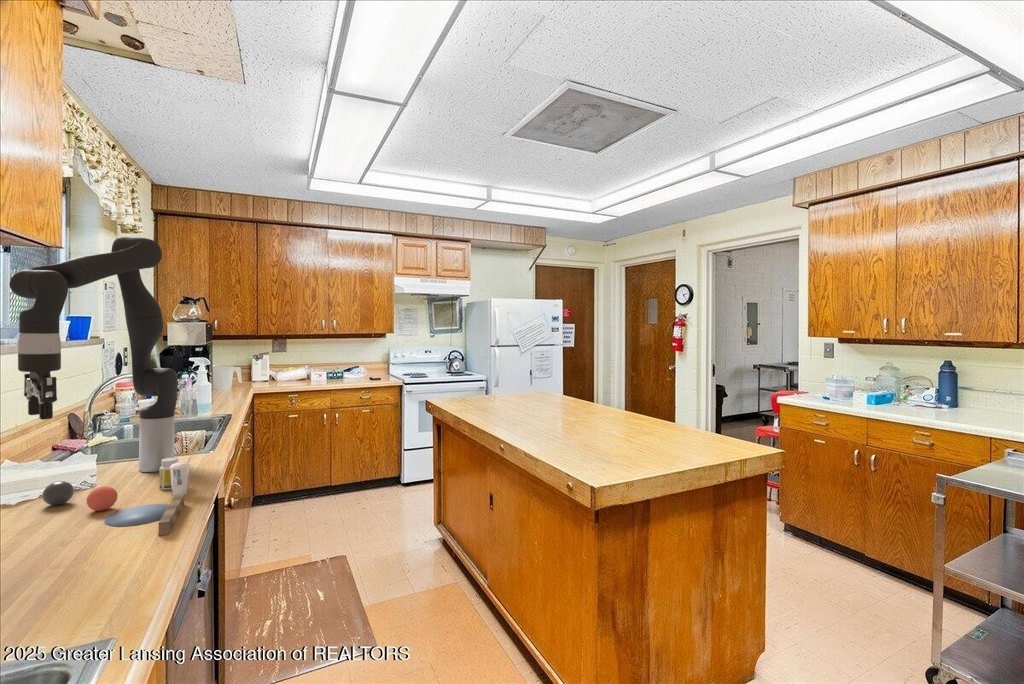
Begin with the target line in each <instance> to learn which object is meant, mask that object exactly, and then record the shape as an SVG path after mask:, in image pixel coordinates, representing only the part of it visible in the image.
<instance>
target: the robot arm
mask: <svg viewBox="0 0 1024 684" xmlns="http://www.w3.org/2000/svg"><path fill="white" fill-rule="evenodd" d="M110 250H111V251H110V252H106V253H97V254H96V253H95V254H88V255H82V256H79V257H75V258H70V259H67V260H65V261H62V262H58V263H54V264H47V265H41V266H40V265H39V266H35V267H30V268H29V267H28V268H25V269H21V270H20V271H19V270H18V271H17V272H15V273H14V274H13V275H12V276H11V277H10V280H9V284H8V285H9V288H10V291H12V293H14V294H15V295H17V296H18V297H20V298H24V299H31V300H35V301H34V303H33V306H32V307H30V308H26V309H25V308H24V309H23V310H21V311H20V313H19V317H18V318H19V319H18V320H19V322H18V323H19V324H18V332H19V335H18V341H17V370H18V371H19V372H22V373H24V375H23V378H24V385H23V386H24V387H23V388H24V389H23V391H24V392H23V396H24V398H26V400H27V414H28V415H29V416H39V420H52V418H53V416H54V414H53V413H54V409H53V407H54V406H53V404H55V402H57V401H58V398H57V395H58V394H57V393H58V392H57V391H58V390H57V377H56V376H52V375H51V372H56V371H59V370H61V369H62V343H61V337H60V336H61V335H60V317H61V314H62V312H63V308H64V306H65V302H66V300H67V297H68V295H69V294H68V293H69V289H76V288H80V287H83V286H86V285H89V284H92V283H94V282H97V281H100V280H102V279H106V278H110V277H112V276H115V275H117V279H118V283H119V287H120V292H121V296H122V302H123V307H124V317H125V318H124V319H125V324H126V329H127V334H128V338H129V339H128V340H129V345H130V353H131V354H130V355H131V369H132V370H131V372H132V384H133V389H134V391H135V392H136V393H135V394H137V395H139V396H144V397H156V398H157V399H156V402H155V403H154V404H151V405H149V406H145V407H143V408H141V409H140V410H139V432H138V433H139V436H138V437H139V440H138V442H139V443H138V445H139V447H138V471H139V472H141V473H142V472H143V473H155V472H160V467H161V466H162V465H161V460H163V459H166V458H175V413H176V411H175V410H176V407H177V399H178V385H179V378H178V374H177V372H176V371H175V369H173V368H168V367H165V368H164V367H163V368H162V367H152V359H151V357H152V352H153V350H154V348H155V346H156V344H157V343H158V341H159V340H160V338H161V336H162V334H163V332H164V321H163V320H164V319H163V313H162V309H161V306H160V304H159V303H158V302H157V300H156V299H155V297H154V296H153V295H152V293H151V292H150V291H149V290H148V289H147V287H146V286H145V284H144V282H143V280H142V276H141V272H140V271H141V270H144V269H151V268H154V267H156V266H157V265H159V264H160V262H161V261H162V258H163V252H162V248H161V246H160V244H159V243H158V242H157V241H155V240H153V239H150V238H147V237H135V236H134V237H132V236H119V237H116V238H114V239H113V241H112V243H111V249H110Z"/></svg>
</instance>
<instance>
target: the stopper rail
mask: <svg viewBox="0 0 1024 684" xmlns="http://www.w3.org/2000/svg"><path fill="white" fill-rule="evenodd" d="M185 495H186V494H185V493H184V494H175V496H173V498H172V500H171V501H170V503H169V504H168V505H169V506H168V508H167V509H166V511H165V513H164V514H163V516H162V518H161V519H160V520H158V521H159V522H158V531H157V532H158V533H157V534H158V536H166V535H170V533H171V532H172V530H173V528H174V525H175V523H176V522H177V520H178V518H179V516H180V514H181V512H182V510H183V508H184V506H185Z"/></svg>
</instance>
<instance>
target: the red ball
mask: <svg viewBox="0 0 1024 684" xmlns="http://www.w3.org/2000/svg"><path fill="white" fill-rule="evenodd" d="M117 501H118V492H117V489H115V488H113V487H111V486H107V485H103V486H99V487H96V488H94V489H93V490H92V491H90V492H89V494H88V496H86V504H87V506H88V508H89V509H91V510H93V511H96V512H100V511H101V512H102V511H106V510H108V509H110V508H112V507H113V506H114V505H115V504H116V502H117Z"/></svg>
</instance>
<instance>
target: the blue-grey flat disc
mask: <svg viewBox="0 0 1024 684" xmlns="http://www.w3.org/2000/svg"><path fill="white" fill-rule="evenodd" d="M168 506H169V504H166V503H152V504H150V503H149V504H142V505H137V506H132V507H129V508H124V509H120V510H119V511H115V512H113V513H111V514H110V515H109V514H108V516H106V517H105V518H104V524H105V525H106V526H107V525H108V526H111V527H133V526H140V525H145V524H150V523H153V522H157V521H160V519H161V518H162V516H163V514H164V513H165V511H166V509H167V508H168Z"/></svg>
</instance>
